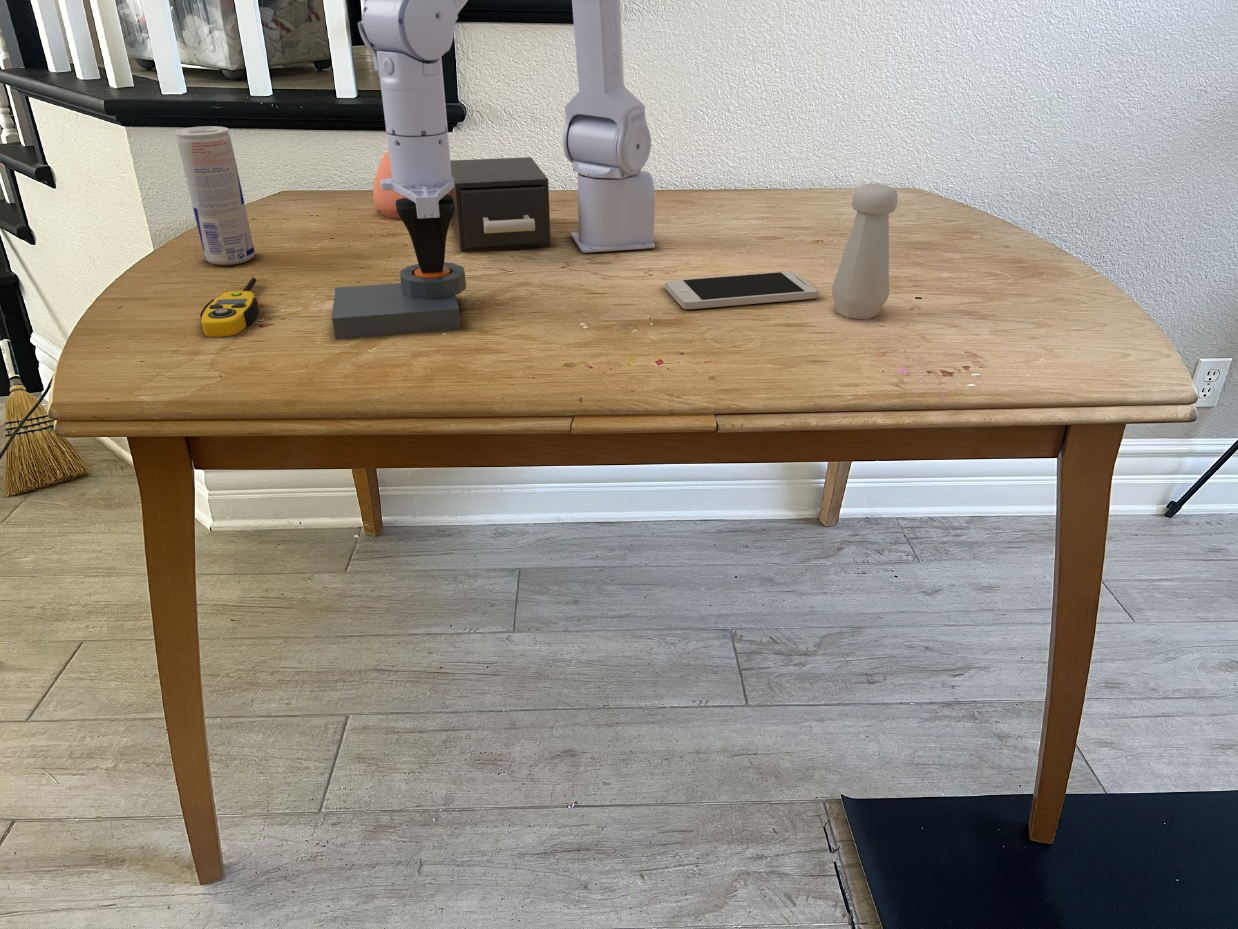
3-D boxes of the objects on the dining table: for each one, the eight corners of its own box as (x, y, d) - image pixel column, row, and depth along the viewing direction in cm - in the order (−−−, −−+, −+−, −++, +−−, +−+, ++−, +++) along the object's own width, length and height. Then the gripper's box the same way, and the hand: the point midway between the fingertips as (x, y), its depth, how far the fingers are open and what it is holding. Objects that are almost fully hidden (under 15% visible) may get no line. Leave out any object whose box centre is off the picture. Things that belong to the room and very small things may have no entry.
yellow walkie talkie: (188, 320, 82) (229, 269, 94) (193, 339, 83) (233, 286, 95) (241, 318, 82) (275, 268, 95) (246, 337, 83) (278, 285, 96)
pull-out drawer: (553, 252, 104) (551, 196, 101) (469, 258, 102) (464, 201, 99) (531, 217, 118) (529, 167, 115) (457, 221, 116) (452, 170, 113)
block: (464, 295, 94) (461, 259, 91) (473, 328, 85) (470, 289, 83) (338, 305, 91) (332, 268, 89) (335, 340, 83) (328, 300, 81)
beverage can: (266, 256, 105) (239, 127, 97) (230, 269, 100) (199, 135, 93) (232, 250, 107) (203, 123, 99) (195, 263, 102) (162, 130, 95)
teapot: (461, 195, 132) (455, 130, 127) (459, 227, 116) (452, 155, 112) (380, 197, 130) (372, 131, 125) (368, 230, 115) (357, 156, 110)
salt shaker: (886, 324, 87) (909, 195, 81) (829, 320, 88) (847, 191, 82) (882, 305, 92) (904, 181, 85) (828, 300, 93) (846, 178, 86)
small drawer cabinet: (550, 246, 110) (548, 178, 105) (460, 252, 107) (454, 183, 103) (533, 219, 121) (531, 156, 116) (452, 223, 118) (446, 160, 114)
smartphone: (664, 287, 96) (664, 279, 95) (791, 277, 99) (792, 269, 99) (684, 310, 90) (684, 301, 90) (818, 298, 93) (819, 290, 93)
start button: (450, 280, 91) (448, 264, 90) (452, 291, 88) (451, 274, 87) (415, 282, 90) (413, 266, 89) (417, 294, 87) (415, 277, 86)
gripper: (373, 120, 86) (390, 252, 93) (374, 147, 74) (393, 297, 81) (444, 118, 88) (455, 248, 95) (456, 144, 76) (468, 292, 83)
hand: (432, 271), depth 88 cm, fingers closed, pressing on start button
